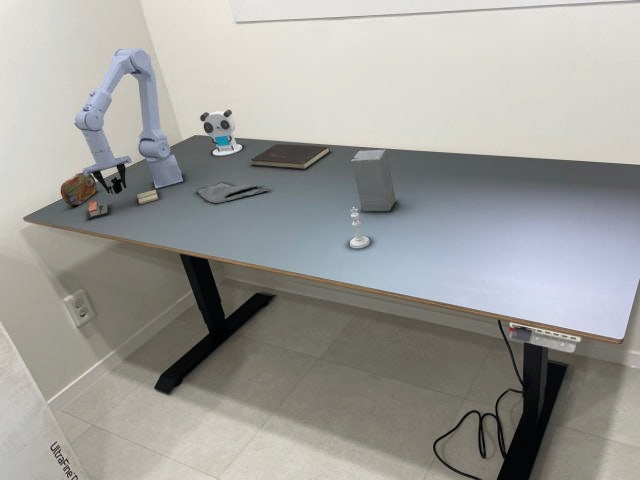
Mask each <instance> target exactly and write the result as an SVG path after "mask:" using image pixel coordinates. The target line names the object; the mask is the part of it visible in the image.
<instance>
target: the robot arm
mask: <svg viewBox="0 0 640 480" xmlns="http://www.w3.org/2000/svg"><path fill="white" fill-rule="evenodd" d="M128 74H129V75H131V76H132V77H133V78H135V80H137V82H138V92H139V100H140V101H139V102H140V113H141V121H142V131H141V132H140V134H139V135H138V137H139V139H138V144H137V150H138V153H139V154H140V156H142V157H143V158H144V160H145V161H146V162H147V164H148V167H149V170H150V172H151V175H152V178H153V184H154V188H155V190H157V189H161V188H164V187H168V186H172V185H175V184H179V183H182V182H184V180H183V176H182V174H183V173H182V171H181V169H180V168H179V164H178V162H177V159H176V157H175V156H176V155H175V154H171V145H170V143H169V141H168V136H167V135H166V134H165V132H163V130H162V129H161V121H160V120H161V119H160V109H159V108H160V107H159V99H158V98H159V97H158V86H157V77H156V72H155V70H154V68H153V66H152V58H151V55H150V54H149V53H148V52H147V51H145V50H144V49H143V48H141V47H135V48H118V49H117V50H115V52H114V54H113V56H112V57H111V58H110V65H109V67H108V69H107V72H106V74H105V75H104V78H103V80H102V82H101V84H100V86H99V88H94V89H93V90H90V92H89V93H88V95H89V97H88V99H87V101H86V102H85V104H83V105H82V107H81V108H82V110H79V111H78V112H77V113H76V114H75V116H74V121H75V122H74V124H73V125H74V126H75V127H76V128H77V129H78V130H80V131H81V133H82V135H83V136H84V139H85V142H86V145H87V146H88V148H89V151H90V153H91V155H92V158H93V160H94V162H95V164H92V165H89V166H87V167H84V168H81V169H82V172H83V173H84V175H85V176H88V175H89V174H91V175H92V176H93V177H94V179H95V180H96V181H98V182H99V183H100V185H102V186H103V188H104V189H105V191H106V192H107V194H111V191H110V190H109V189H108V187H109V186H108V185H107V183H106V181H105V179H104V176H103V174H102V171H106V170H110V169H113V168H116V170H117V172H118V174H119V177H120V179H121V180H122V182H121V185H122V187H123V188H124V189H127V183H126V171H127V169H126V168H127V167H126V164H132V163H133V161H132V158H131V156H130V155H125V156H120V157H115V156H114V152H113V150H112V149H111V146H110V144H109V141H108V138H107V136H106V134H105V131H104V128H103V127H104V124H105V119H104V118H105V114H106V112H107V111H108V109H109V108H110V105H111V104H112V102H113V97H112V93H113V92H114V91H115V89H116V87H117V86H118V84H119V83H120V82H121V79H122V78H123V77H124V75H128Z"/></svg>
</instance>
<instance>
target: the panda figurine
mask: <svg viewBox="0 0 640 480" xmlns="http://www.w3.org/2000/svg"><path fill="white" fill-rule="evenodd" d="M232 115H233V112H232V110H231V109H227V110H226V111H224V110H217V111H214V112H211V113H209V112H207V111H205V112H203V113H202V114H201V115H200V117H199V120H200V121H201V122H202V123H203V130H204V132H205V133H206V134H207V135H208V137H210V138H211V142H212V144H214V145H215V146H216V149H214V150H213V151H212V155H214V156H216V157H223V156H229V155H232V154H233V155H234V154H236V153H238V152H240V151H241V150H242V149H243V146H242V144H238V143H237V142H236V139H235V135H234V134H235V133H234V131H235V129H236V123H235V120H234V118H233V117H232Z"/></svg>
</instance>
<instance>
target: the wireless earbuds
mask: <svg viewBox="0 0 640 480" xmlns="http://www.w3.org/2000/svg"><path fill="white" fill-rule="evenodd" d="M110 182H111V183H112V185H109V186H107V187H108V189H109V191H110V194H111V195H114V194H116V195H118V194H120V193H122V192H123V185H122V180H121V178H118V177H116V176H115V177H113V178H112V179H110Z"/></svg>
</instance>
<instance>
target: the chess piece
mask: <svg viewBox="0 0 640 480" xmlns="http://www.w3.org/2000/svg"><path fill="white" fill-rule="evenodd" d="M358 211H359V209H358V208H355V206H352V209H350V213H351V214H350V218H351V219H352V221H353V222H352V223H351V225H352V226H353V227H354V233H355V235H354V237H353V238H352V239H350V241H349V246H350V248H353V249H362V248H365V247H368V246H369V245H370V239H369V237H367V236H364V235H363V234H362V232H361V228H360V225H361V224H362V223H361V221H360V220H359V217H360V213H358Z"/></svg>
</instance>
